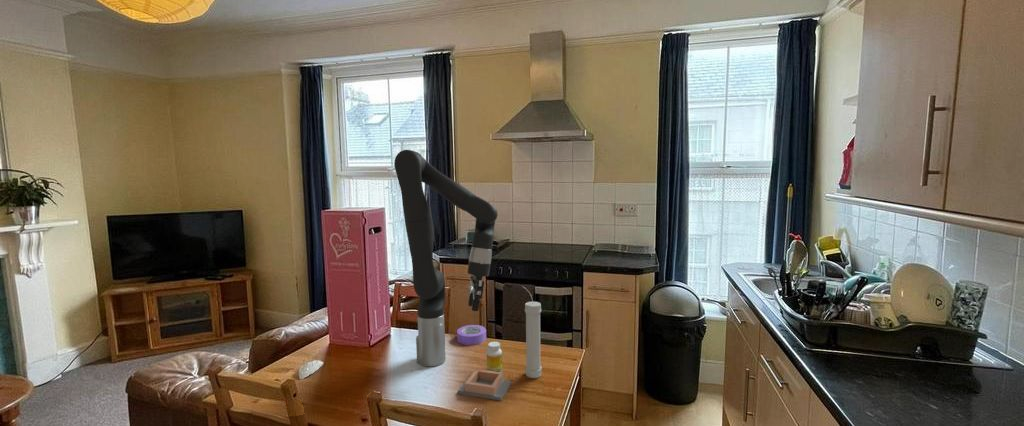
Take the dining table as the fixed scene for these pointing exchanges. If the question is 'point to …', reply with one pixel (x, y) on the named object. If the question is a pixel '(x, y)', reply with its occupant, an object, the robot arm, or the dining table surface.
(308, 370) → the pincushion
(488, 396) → the holder
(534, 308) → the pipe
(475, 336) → the masking tape
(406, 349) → the dining table surface
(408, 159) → the robot arm
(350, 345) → the dining table surface
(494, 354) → the supplement bottle
